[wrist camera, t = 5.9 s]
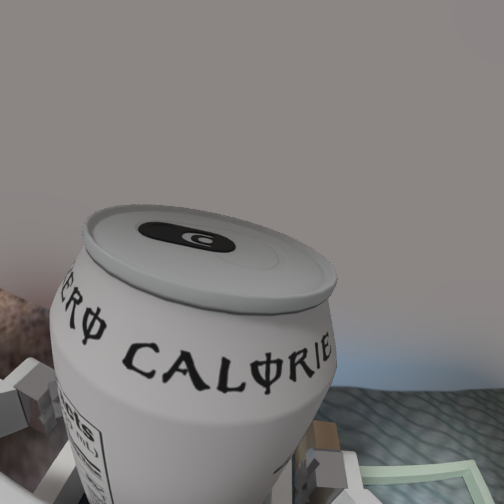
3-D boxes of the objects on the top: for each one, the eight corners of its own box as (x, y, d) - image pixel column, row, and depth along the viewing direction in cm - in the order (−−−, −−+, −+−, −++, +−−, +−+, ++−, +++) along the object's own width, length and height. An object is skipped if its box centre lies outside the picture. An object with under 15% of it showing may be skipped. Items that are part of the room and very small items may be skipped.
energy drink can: (226, 586, 8) (436, 346, 4) (94, 565, 7) (-31, 252, 3) (221, 496, 13) (317, 232, 9) (113, 477, 12) (115, 188, 8)
